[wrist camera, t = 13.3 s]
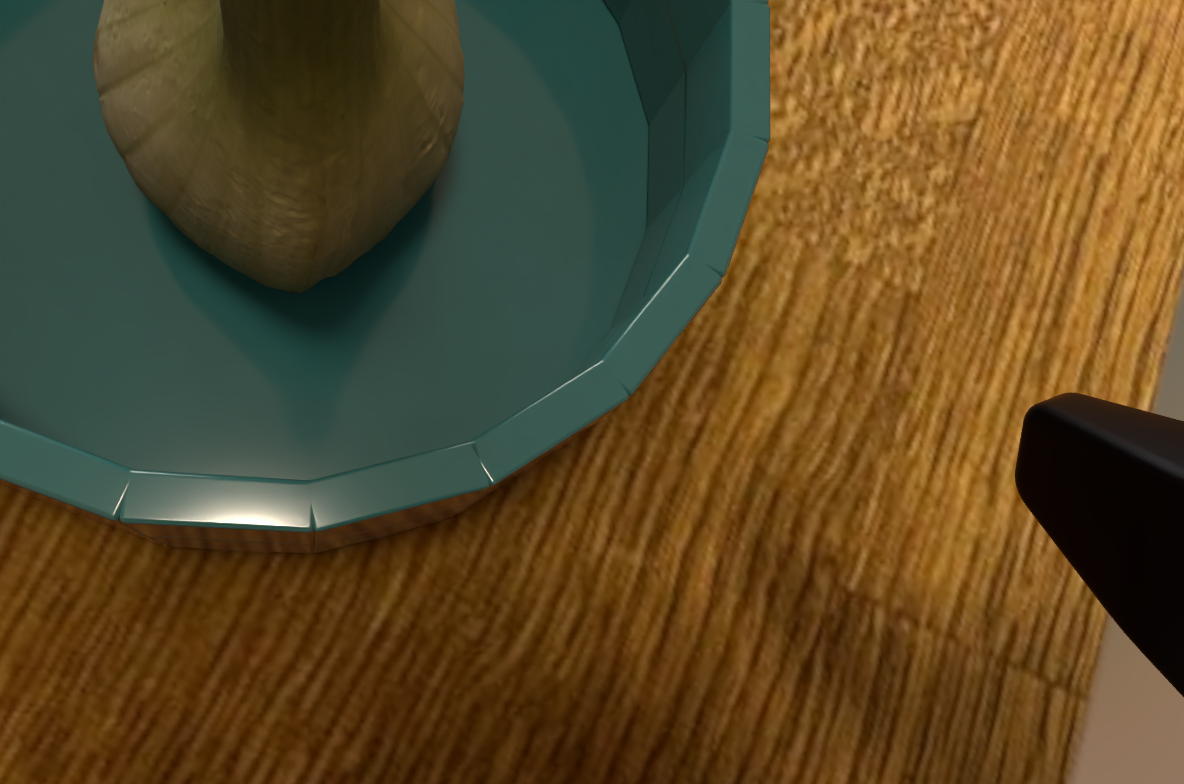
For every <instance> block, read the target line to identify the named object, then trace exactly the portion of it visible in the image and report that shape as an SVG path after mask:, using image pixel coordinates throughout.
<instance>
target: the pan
mask: <svg viewBox="0 0 1184 784" xmlns="http://www.w3.org/2000/svg"><path fill="white" fill-rule="evenodd" d="M454 2H455V6H456V12H457V18H458V25H459V35H460V43H461V47H462V52H463V55H464V71H465V78H464V90H463V96H464V105H463V106H462V112H461V116H460V120H459V125H458V128H457V133H456V137H455V138H454V140H453V145H452V148H451V151H450V154H449V157H448V159H447V160H446V162H445V165H444V167H443V168H442V170H441V172H440V174H439V175H438V177H437V178H436V180H435V181H434V183H433V184H432V186H431V187H430V188H429V189H428V190H427V191H426V193H425V194H424V195H423V196H422V197H421V198H420V200H419V201H418V202H417V203H416V204H415V205H414V207H413V208H412V209H411V210H410V211H409V212H408V213H407V214H406V215H405V216H404V217H403V218H402V219H401V220H400V221H399V222H398V223H396V225H395V226H394V227H393V229H392V230H391V231H390V232H389V233H388V234H387V236H386V238H385V239H384V240H382V241H381V242H379V243H377V244H375V245H374V246H373V247H372V248H371V249H370V250H369V251H367V252H366V253H365V254H363V255H361V256H360V257H358V258H357V259H355V260H354V261H353V262H352V263H351V264H350V266H349V267H347V268H346V269H345V270H343V271H342V272H340V273H339V274H338V275H336V276H334V277H326V278H324V279H322V280H320V281H319V282H318V283H316V284H315V285H314V286H312V287H311V288H310V289H308V290H306V291H304V292H302V293H291V292H289V291H284V290H279V289H275V288H271V287H267V286H265V285H263V284H261V283H258V282H257V281H255V280H253V279H251V278H250V277H248V276H247V275H245V274H243V273H241V272H239V271H237V270H235V269H234V268H232V267H230V266H229V265H227V264H225V263H223V262H221V261H220V260H219V259H217V258H216V257H215V256H214V255H212V254H210V253H208V252H207V251H205V250H203V249H202V248H200V247H199V246H198V245H197V244H195V243H194V242H193V241H192V240H191V239H189V238H188V237H187V236H185V235H184V234H183V233H182V232H181V231H180V230H179V229H178V228H177V227H176V226H175V224H174V223H173V222H172V221H171V220H170V219H169V218H168V217H167V216H166V215H165V214H164V213H163V212H162V211H160V210H159V209H158V208H157V207H156V206H155V205H154V204H153V203H152V202H151V201H149V200H148V199H147V197H146V196H145V195H144V194H143V192H142V191H141V190H140V189H139V188H138V187H137V186H136V184H135V182H134V180H133V178H132V177H131V175H130V173H129V171H128V169H127V167H126V165H125V162H124V160H123V159H122V157H121V156H120V154H119V153H118V151H117V150H116V148H115V146H114V144H113V142H112V140H111V138H110V136H109V134H108V132H107V129H106V126H105V123H104V120H103V116H102V111H101V104H100V102H99V100H100V99H99V93H98V90H97V87H96V82H95V77H94V70H93V50H94V40H95V34H96V30H97V28H98V24H99V19H100V15H101V11H102V8H103V3H104V0H0V484H1V485H3V486H6V487H8V488H10V489H13V490H15V491H17V492H19V493H22V494H24V495H27V496H29V497H32V498H35V499H37V500H40V501H43V502H46V503H48V504H51V505H54V506H56V507H59V508H62V509H64V510H67V511H70V512H73V513H75V514H78V515H81V516H83V517H86V518H88V519H91V520H94V521H97V522H100V523H102V524H105V525H108V526H110V527H113V528H116V529H119V530H121V531H124V532H127V533H129V534H132V535H135V536H138V537H140V538H143V539H146V540H148V541H151V542H154V543H156V544H159V545H164V544H165V545H167V546H169V547H185V548H203V549H212V550H229V551H246V552H262V553H272V552H290V553H313V552H314V551H315V552H318V553H320V552H324V551H327V550H331V549H335V548H339V547H343V546H346V545H350V544H354V543H359V542H364V541H369V540H374V539H379V538H384V537H387V536H390V535H393V534H396V533H399V532H402V531H405V530H408V529H411V528H415V527H418V526H422V525H426V524H430V523H433V522H437V521H441V520H445V519H449V518H450V517H452V516H455V515H457V514H459V513H460V512H462V511H464V510H465V509H467V508H468V507H470V506H471V505H473V504H474V503H476V502H478V501H479V500H481V499H482V498H484V497H485V496H487V495H488V494H490V493H492V492H493V491H495V490H496V489H498V488H499V487H501V486H502V485H504V484H506V483H507V482H509V481H510V480H512V479H513V478H515V477H516V476H518V475H520V474H521V473H523V472H524V471H526V470H527V469H529V468H530V467H532V466H534V465H535V464H537V463H538V462H540V461H541V460H543V459H544V458H546V457H548V456H549V455H551V454H552V453H554V452H555V451H557V450H558V449H560V448H561V447H563V446H564V445H566V444H567V443H568V442H570V441H571V440H573V439H574V438H575V437H577V436H578V435H580V434H581V433H582V432H584V431H585V430H587V429H588V428H589V427H591V426H592V425H593V424H595V423H596V422H598V421H599V420H600V419H602V418H603V417H605V416H606V415H607V414H609V413H610V412H612V411H613V410H614V409H616V408H617V407H618V406H620V405H621V404H623V403H624V402H625V401H627V400H628V398H629V397H630V396H631V395H633V394H634V393H635V392H636V390H637V389H638V388H639V387H640V385H641V384H642V383H643V382H644V380H645V379H646V378H647V376H648V375H649V374H650V373H651V371H652V370H653V369H654V368H655V366H656V365H657V364H658V362H659V361H660V360H661V359H662V357H663V356H664V355H665V354H666V352H667V351H668V350H669V349H670V347H671V346H672V345H673V343H674V342H675V341H676V340H677V338H678V337H679V336H680V335H681V333H682V332H683V331H684V330H685V328H686V327H687V326H688V324H689V323H690V322H691V321H692V319H693V318H694V317H695V316H696V314H697V313H698V312H699V311H700V309H701V308H702V307H703V305H704V304H705V303H706V302H707V300H708V299H709V298H710V297H711V295H712V294H713V293H714V292H715V290H716V289H717V288H718V286H719V285H720V284H721V281H722V278H723V277H724V276H725V275H726V272H727V269H728V267H729V264H730V261H731V258H732V255H733V252H734V249H735V246H736V243H737V240H738V237H739V234H740V231H741V228H742V226H743V223H744V220H745V217H746V214H747V211H748V208H749V205H750V202H751V199H752V196H753V193H754V190H755V187H756V184H757V182H758V179H759V176H760V173H761V170H762V167H763V164H764V161H765V158H766V155H767V152H768V149H769V144H768V143H769V141H770V7H769V5H768V0H454Z"/></svg>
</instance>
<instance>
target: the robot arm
mask: <svg viewBox="0 0 1184 784" xmlns="http://www.w3.org/2000/svg"><path fill="white" fill-rule="evenodd" d="M1015 482H1016V486H1017V489H1018V492H1019V494H1020V496H1021V498H1022V500H1023V502H1024V503H1025V505H1026V506H1027V507H1028V509H1029V510H1030V511H1031V512H1032V514H1033V515H1034V516H1035V518H1036V519H1037V520H1038V522H1039V523H1040V524H1041V526H1042V527H1043V528H1044V529H1045V531H1046V532H1047V533H1048V535H1049V536H1050V537H1051V539H1052V540H1053V541H1054V543H1055V544H1056V545H1057V547H1058V548H1059V549H1060V550H1061V552H1062V553H1063V554H1064V556H1065V557H1066V558H1067V560H1068V561H1069V562H1070V564H1071V565H1072V566H1073V567H1074V569H1075V570H1076V571H1077V573H1078V574H1079V575H1080V577H1081V578H1082V579H1083V581H1084V582H1085V583H1086V584H1087V586H1088V587H1089V588H1090V590H1091V591H1092V592H1093V594H1094V595H1095V596H1096V598H1097V599H1098V600H1099V601H1100V603H1101V604H1102V605H1103V607H1104V608H1105V609H1106V611H1107V612H1108V613H1109V614H1110V616H1111V617H1112V618H1113V619H1114V621H1115V622H1116V623H1117V624H1118V625H1119V627H1120V628H1121V629H1122V630H1123V631H1124V633H1125V634H1126V635H1127V636H1128V637H1129V638H1130V640H1131V641H1132V642H1133V643H1134V644H1135V645H1136V646H1137V647H1138V649H1140V651H1141V652H1142V653H1143V654H1144V655H1145V656H1146V657H1147V658H1148V659H1149V660H1150V661H1151V663H1152V664H1153V665H1154V666H1155V667H1156V668H1157V669H1158V670H1159V671H1160V672H1161V673H1162V675H1163V676H1164V677H1165V678H1166V679H1167V680H1168V681H1169V682H1170V683H1171V684H1172V685H1173V686H1174V687H1175V688H1176V690H1177V691H1178V692H1179V693H1180V694H1181V695H1182V696H1183V697H1184V421H1180V420H1176V419H1172V418H1168V417H1165V416H1161V415H1158V414H1154V413H1150V412H1146V411H1143V410H1139V409H1135V408H1131V407H1128V406H1124V405H1120V404H1117V403H1113V402H1109V401H1105V400H1102V399H1098V398H1094V397H1090V396H1087V395H1083V394H1079V393H1064V394H1061V395H1058V396H1055V397H1053V398H1050V399H1048V400H1045V401H1043V402H1040V403H1038V404H1035V405H1034V406H1032V407H1031V408H1030V409H1029V410H1028V412H1027V413H1026V415H1025V418H1024V421H1023V427H1022V433H1021V439H1020V445H1019V451H1018V457H1017V463H1016V469H1015Z"/></svg>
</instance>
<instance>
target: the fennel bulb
mask: <svg viewBox="0 0 1184 784" xmlns="http://www.w3.org/2000/svg"><path fill="white" fill-rule="evenodd" d="M93 70H94V77H95V82H96V87H97V90H98V93H99V99H100V100H99V102H100V104H101V111H102V116H103V120H104V123H105V126H106V129H107V132H108V134H109V136H110V138H111V140H112V142H113V144H114V146H115V148H116V150H117V151H118V153H119V154H120V156H121V157H122V159H123V160H124V162H125V165H126V167H127V169H128V171H129V173H130V175H131V177H132V178H133V180H134V182H135V184H136V186H137V187H138V188H139V189H140V190H141V191H142V192H143V194H144V195H145V196H146V197H147V199H148V200H149V201H151V202H152V203H153V204H154V205H155V206H156V207H157V208H158V209H159V210H160V211H162V212H163V213H164V214H165V215H166V216H167V217H168V218H169V219H170V220H171V221H172V222H173V223H174V224H175V226H176V227H177V228H178V229H179V230H180V231H181V232H182V233H183V234H184V235H185V236H187V237H188V238H189V239H191V240H192V241H193V242H194V243H195V244H197V245H198V246H199V247H200V248H202V249H203V250H205V251H207V252H208V253H210V254H212V255H214V256H215V257H216V258H217V259H219V260H220V261H221V262H223V263H225V264H227V265H229V266H230V267H232V268H234V269H235V270H237V271H239V272H241V273H243V274H245V275H247V276H248V277H250V278H251V279H253V280H255V281H257V282H258V283H261V284H263V285H265V286H267V287H271V288H275V289H279V290H284V291H289V292H291V293H302V292H304V291H306V290H308V289H310V288H311V287H312V286H314V285H315V284H316V283H318V282H319V281H320V280H322V279H324V278H326V277H334V276H336V275H338V274H339V273H340V272H342V271H343V270H345V269H346V268H347V267H349V266H350V264H351V263H352V262H353V261H354V260H355V259H357V258H358V257H360V256H361V255H363V254H365V253H366V252H367V251H369V250H370V249H371V248H372V247H373V246H374V245H375V244H377V243H379V242H381V241H382V240H384V239H385V238H386V236H387V234H388V233H389V232H390V231H391V230H392V229H393V227H394V226H395V225H396V223H398V222H399V221H400V220H401V219H402V218H403V217H404V216H405V215H406V214H407V213H408V212H409V211H410V210H411V209H412V208H413V207H414V205H415V204H416V203H417V202H418V201H419V200H420V198H421V197H422V196H423V195H424V194H425V193H426V191H427V190H428V189H429V188H430V187H431V186H432V184H433V183H434V181H435V180H436V178H437V177H438V175H439V174H440V172H441V170H442V168H443V167H444V165H445V162H446V160H447V159H448V157H449V154H450V151H451V148H452V145H453V140H454V138H455V137H456V133H457V128H458V125H459V120H460V116H461V112H462V106H463V105H464V96H463V90H464V78H465V71H464V55H463V52H462V47H461V43H460V35H459V25H458V18H457V12H456V6H455V2H454V0H104V3H103V8H102V11H101V15H100V19H99V24H98V28H97V30H96V34H95V40H94V50H93Z"/></svg>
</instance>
